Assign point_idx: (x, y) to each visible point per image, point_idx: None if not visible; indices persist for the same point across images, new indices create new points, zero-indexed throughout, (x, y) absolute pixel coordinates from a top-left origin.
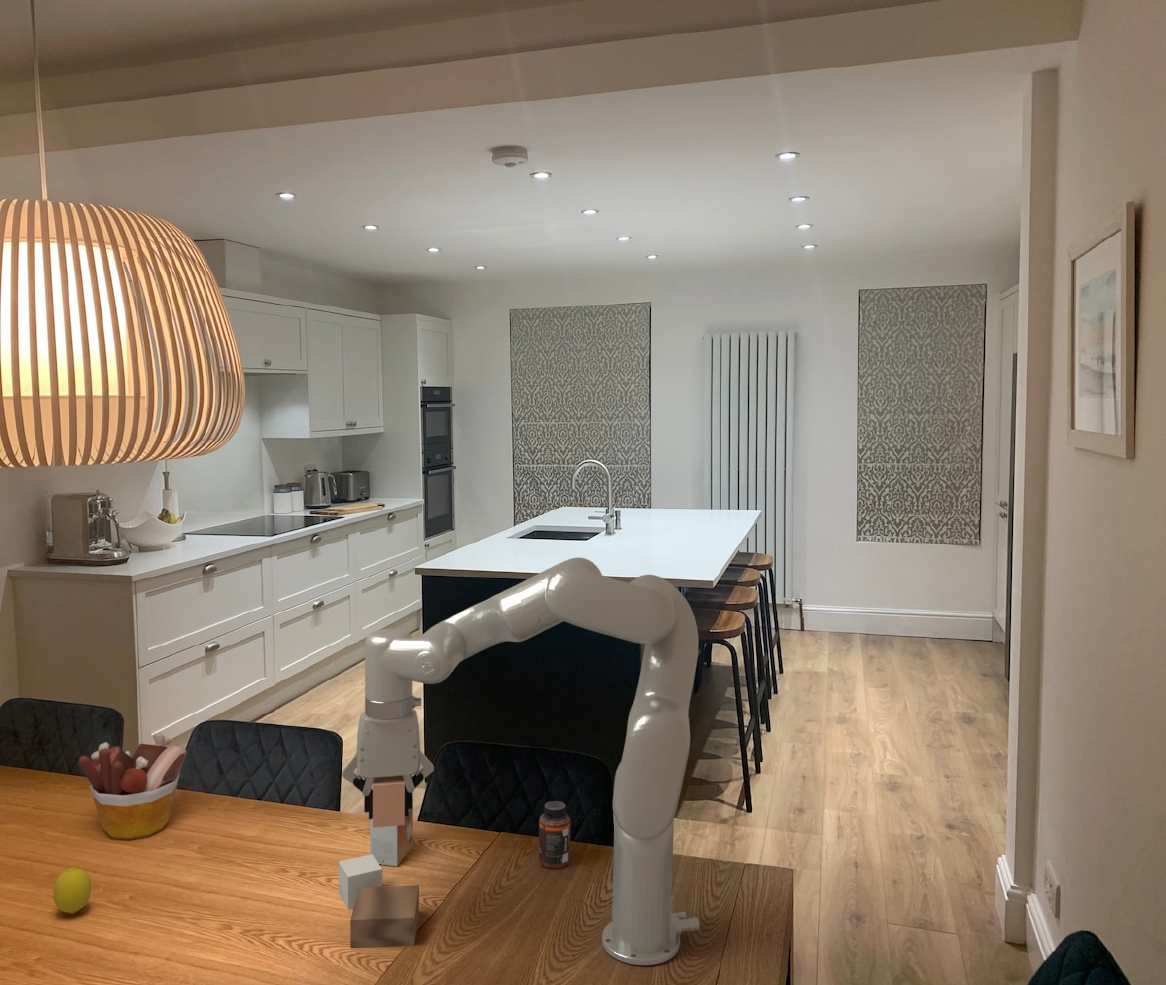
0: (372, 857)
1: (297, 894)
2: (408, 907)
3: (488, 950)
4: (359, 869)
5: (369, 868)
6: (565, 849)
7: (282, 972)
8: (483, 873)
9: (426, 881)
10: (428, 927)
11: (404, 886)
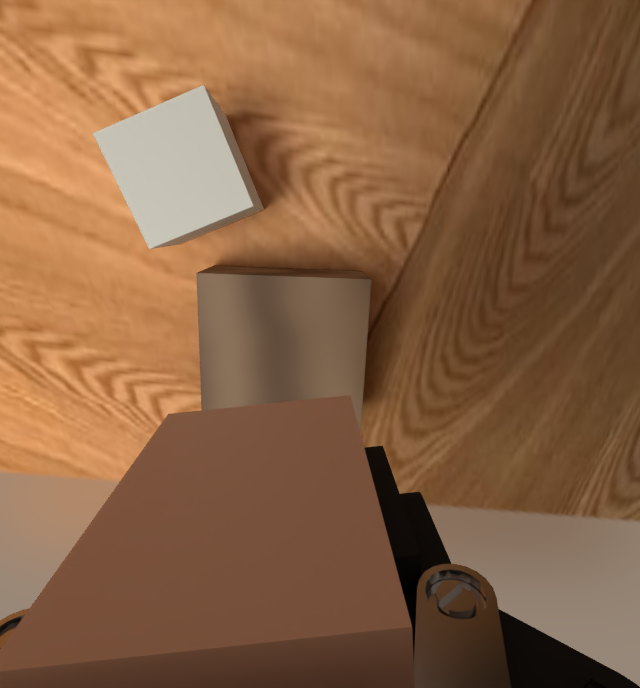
0: (208, 113)
1: (19, 144)
2: (344, 390)
3: (504, 435)
4: (177, 201)
5: (210, 197)
6: None
7: (96, 468)
8: (549, 77)
9: (380, 109)
10: (383, 341)
11: (329, 282)
